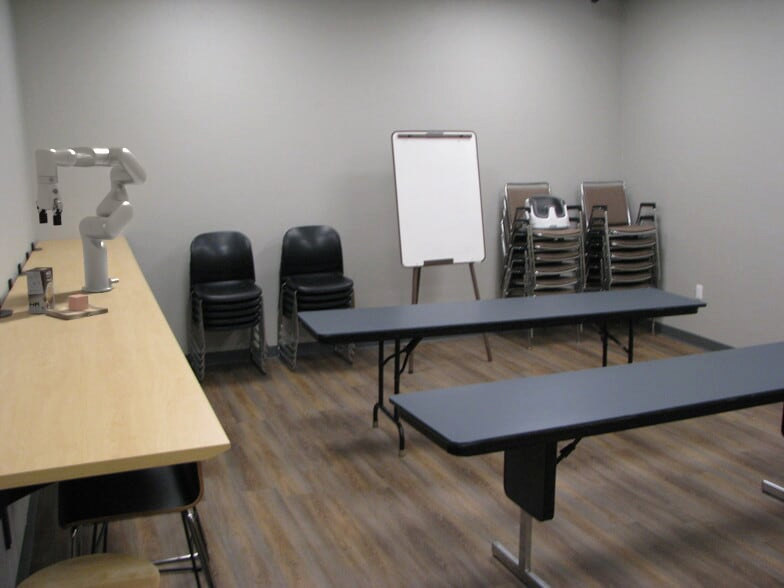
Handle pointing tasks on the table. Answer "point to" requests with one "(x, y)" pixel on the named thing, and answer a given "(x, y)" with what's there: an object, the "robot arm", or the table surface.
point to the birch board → (76, 312)
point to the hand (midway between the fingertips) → (50, 224)
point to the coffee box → (40, 289)
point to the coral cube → (78, 302)
